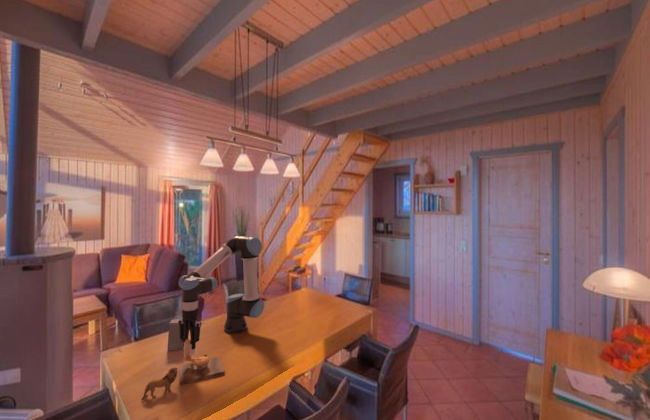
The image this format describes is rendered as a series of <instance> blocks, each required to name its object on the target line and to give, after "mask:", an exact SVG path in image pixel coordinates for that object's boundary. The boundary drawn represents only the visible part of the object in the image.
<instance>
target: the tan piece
mask: <svg viewBox="0 0 650 420" xmlns="http://www.w3.org/2000/svg"><path fill="white" fill-rule="evenodd" d="M190 343H191V337H188V339H186V340H185V355H184V361H185V362H188V363H192V362H194V365H195V366H203V365H206V364H208V363H209V359H210V357H208V356H207V357H205V356H204V355H203V356H200V357H193V356H191V357H190V356H189V348H190Z"/></svg>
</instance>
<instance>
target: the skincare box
mask: <svg viewBox="0 0 650 420" xmlns="http://www.w3.org/2000/svg"><path fill="white" fill-rule="evenodd" d="M181 319H182V318H177V319H176V318H175V319H171V320H170V321H169V324H168V335H167V337H168V338H167V351H168V352H169V351H176V350H177V351H178V350H184V347H183V340H180V329H179V322H178V321H179V320H181ZM182 337H183V336H182Z"/></svg>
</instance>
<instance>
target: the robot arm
mask: <svg viewBox="0 0 650 420" xmlns="http://www.w3.org/2000/svg"><path fill="white" fill-rule="evenodd" d="M262 250H263V244H262V241H261V240H260V239H259V238H258V237H255V236H247V235H246V236H244V235H237V236H236V235H235V236H233V237H232V238H230V239H227V240H226V241H225V242H223V243H222V244H221V245H220V247H219V248H218V250H216V251H215V252H214V253H213V254H212V255H210V256H209V257H208V258H207V259H205V260H204V261H203V262H202V263H201V264H200V265H199V266H198V267H196V268H195V269H194V270H193V271H191V272H190V273H189V274H184V275H182V276H181V277H179V279H178V281H177V282H178V283H177V284H178V287H179V288H181V289H182V300H181V301H182V304H181V309H182V311H181V318H180V319H181V320H179V321H178V322H179V329H180V340H183V356H185V340H186V339H188V338H191V343H190V348H189V356H190V357H193V355H195V354H196V353H195V351H196V350H195V349H196V348H197V347H196V345H197V344H196V343H198V342H199V341H200V335H201V327H202V324H203V323H202V322H201V321H200V322H199V321H198V316H199V298H200V296H199V295H204V294H206V293H210V292H213V291H216V290H217V288H218V284H219V283H218V280H217V278H215V277H213V276H211V277H210V276H209V275H210V274H211V273H212V272H213V271H215V269H217V268H218V267H219V266H220V265H221V264H223V262H224V261H225V260H226V259H227V258H230V257H232V256H233V255H236V254H240V255H239V256H240V259H241V260H242V262H243V266H242V269H243V286H244V287H243V288H244V293H235V294H231V295H229V296H228V297H227V301H226V320H225V323H224V326H223V330H224V332H225V333H230V334H237V333H240V332H244V331H245V330H247V328H248V323H247V321H246V317H248V318H251V319H252V318H254V319H256V318H257V319H258V318H259V317H260V316H261V315H262V314H263V312H264V309H265V302H264V301H263V300H261V295H260V294H259V290H258V289H259V288H258V270H257V269H258V265H257V259H258V257H259V255H260V254H261V253H262ZM208 276H209V277H208ZM189 335H190V337H189ZM182 336H183V337H182Z"/></svg>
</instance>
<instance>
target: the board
mask: <svg viewBox="0 0 650 420" xmlns="http://www.w3.org/2000/svg"><path fill="white" fill-rule="evenodd" d="M204 356H205V357H208V354H207V353H204V355H203V357H204ZM221 357H222V356H217V357H211V358H209V363H208V364H206V365H203V366H195V365H194V362H188V363H182V364H179V365H178V367H179V368H178V370H179V371H178V372H179V374H178V375H179V386H181V385H186V384H190V383H194V382H198V381H202V380H207V379H211V378H215V377H219V376H223V375H225V373H226V372H225V369H224V368H225V367H224V365H223V361H222V358H221Z"/></svg>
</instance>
